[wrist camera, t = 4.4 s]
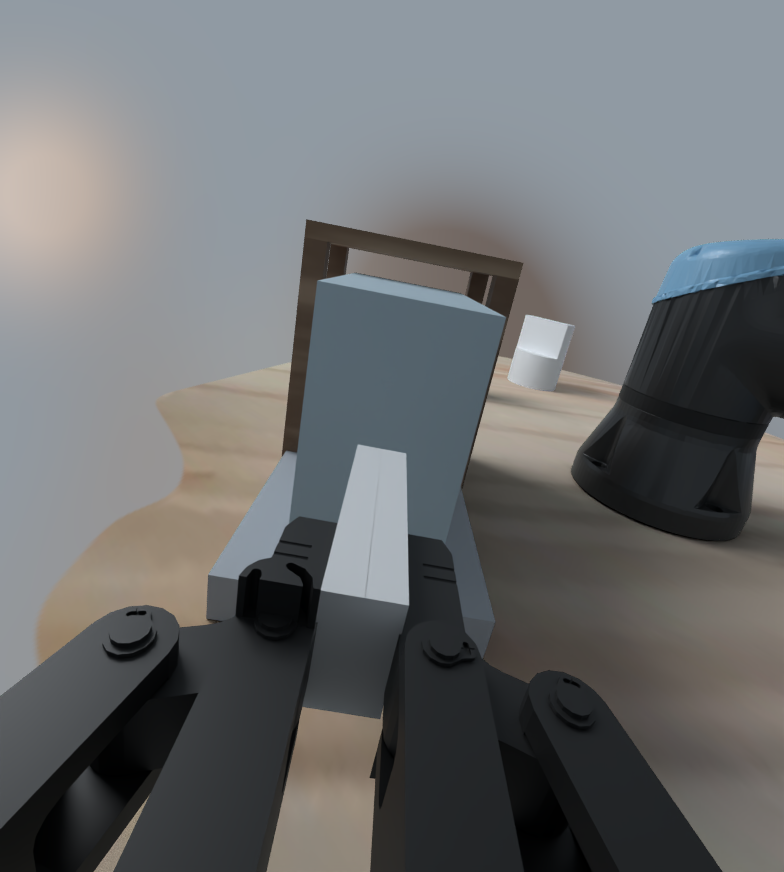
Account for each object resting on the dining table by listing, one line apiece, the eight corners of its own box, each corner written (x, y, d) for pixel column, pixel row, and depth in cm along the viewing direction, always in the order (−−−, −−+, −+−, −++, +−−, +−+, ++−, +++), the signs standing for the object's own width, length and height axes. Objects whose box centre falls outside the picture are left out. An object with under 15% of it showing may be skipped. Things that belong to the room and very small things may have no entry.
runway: (481, 662, 21) (495, 622, 20) (206, 618, 21) (208, 574, 20) (440, 449, 45) (445, 426, 45) (313, 426, 45) (315, 403, 44)
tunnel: (456, 510, 34) (523, 262, 28) (279, 479, 34) (306, 219, 27) (443, 449, 45) (488, 263, 39) (310, 425, 45) (334, 232, 38)
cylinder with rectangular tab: (498, 377, 85) (516, 313, 81) (522, 375, 92) (540, 316, 87) (540, 392, 80) (561, 324, 75) (563, 389, 86) (584, 327, 82)
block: (430, 596, 21) (506, 317, 16) (283, 571, 21) (317, 280, 16) (420, 468, 34) (460, 293, 29) (329, 452, 34) (355, 272, 29)
